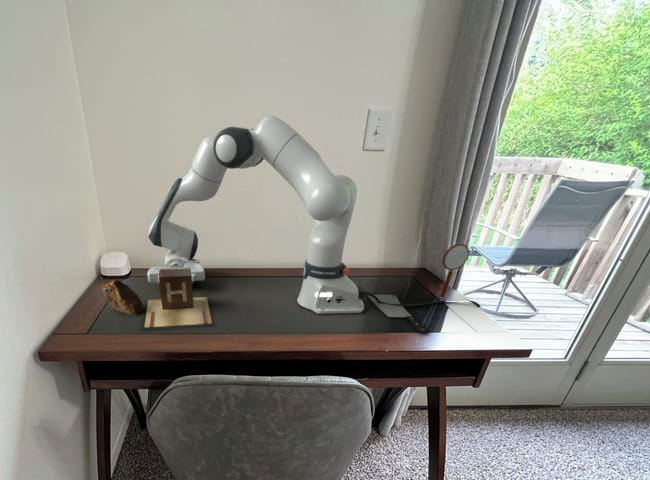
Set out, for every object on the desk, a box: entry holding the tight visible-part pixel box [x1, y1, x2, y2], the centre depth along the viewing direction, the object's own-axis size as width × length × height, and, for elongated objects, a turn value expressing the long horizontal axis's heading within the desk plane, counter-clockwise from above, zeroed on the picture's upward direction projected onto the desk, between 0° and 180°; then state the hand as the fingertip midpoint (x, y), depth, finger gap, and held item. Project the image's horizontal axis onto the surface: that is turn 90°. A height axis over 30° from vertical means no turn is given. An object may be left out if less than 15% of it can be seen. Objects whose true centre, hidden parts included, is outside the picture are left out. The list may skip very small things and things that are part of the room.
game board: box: [144, 296, 213, 328], centre depth 114 cm, size 20×20×1 cm
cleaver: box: [366, 293, 428, 335], centre depth 116 cm, size 29×1×10 cm
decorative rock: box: [101, 279, 143, 316], centre depth 111 cm, size 12×6×11 cm, turn 66°
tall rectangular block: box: [158, 268, 194, 310], centre depth 114 cm, size 10×7×11 cm
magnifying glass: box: [439, 243, 470, 301], centre depth 120 cm, size 9×2×20 cm, turn 97°
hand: (176, 282), depth 121 cm, fingers open, 8 cm apart
